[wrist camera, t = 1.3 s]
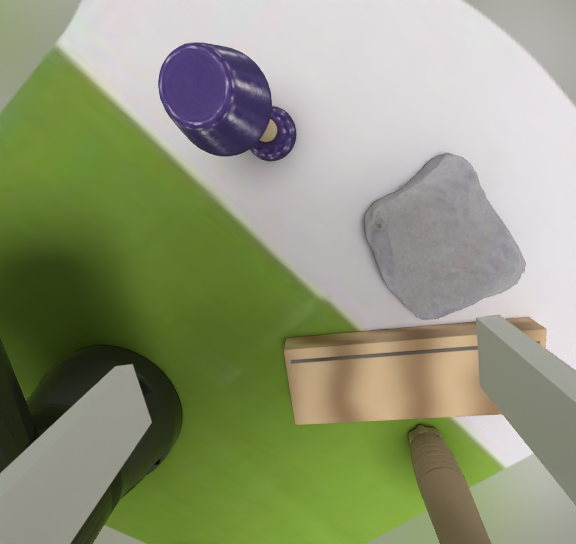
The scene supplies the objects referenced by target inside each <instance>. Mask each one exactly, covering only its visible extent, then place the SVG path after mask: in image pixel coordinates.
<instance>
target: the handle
mask: <svg viewBox="0 0 576 544" xmlns="http://www.w3.org/2000/svg"><path fill="white" fill-rule="evenodd" d="M408 438H409V442H410V447H411V458H412V464H413V468H414V472H415V476H416V480H417V483H418V486H419V489H420V492H421V495H422V498H423V500H424V503H425V505H426V508H427V511H428V513H429V516H430V518H431V521H432V524H433V526H434V529H435V531H436V534H437V537H438V539H439V542H440V544H491V542H490V539H489V537H488V535H487V533H486V530H485V527H484V525H483V522H482V520H481V518H480V515H479V512H478V510H477V507H476V505H475V502H474V500H473V497H472V495H471V492H470V490H469V487H468V485H467V482H466V480H465V478H464V476H463V474H462V472H461V470H460V468H459V466H458V464H457V462H456V460H455V458H454V456H453V455H452V453H451V451H450V450H449V448H448V447H447V445H446V444H445V442H444V441H443V440H442V436H441V435H440V433H439V432H438V431H437V429H435V428H433V427H431V428H430V427H425V426H423V425H418V426H417V428H416V429H414V430H413V431H410V432H409V434H408Z"/></svg>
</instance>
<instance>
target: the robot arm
mask: <svg viewBox="0 0 576 544" xmlns="http://www.w3.org/2000/svg"><path fill="white" fill-rule="evenodd" d="M476 324H477V343H478V363H479V382H480V387H481V388H482V389H483V391H484V392H485V393H486V394H487V396H488V397H489V398H490V399H491V400H492V402H493V403H494V404H495V405H496V407H497V408H498V409H499V410H500V412H501V413H502V414H503V415H504V417H505V418H506V419H507V420H508V422H509V423H510V424H511V425H512V427H513V428H514V429H515V430H516V432H517V433H518V434H519V435H520V437H521V438H522V439H523V440H524V441H525V443H526V444H527V445H528V446H529V448H530V449H531V450H532V451H533V453H534V454H535V455H536V456H537V458H539V460H540V461H541V463H542V464H543V465H544V466H545V468H546V469H547V470H548V471H549V473H550V474H551V475H552V476H553V478H554V479H555V480H556V481H557V482H558V484H559V485H560V486H561V487H562V489H563V490H564V491H565V492H566V494H567V495H568V496H569V497H570V499H571V500H572V501H573V502H574V504H575V505H576V370H574V369H573V368H571V367H570V366H569V365H567V364H566V363H565V362H563V361H562V360H560V359H559V358H558V357H556V356H555V355H554V354H552V353H551V352H549V351H548V350H547V349H545V348H544V347H543V346H541V345H540V344H538V343H537V342H536V341H534V340H533V339H532V338H530V337H529V336H527V335H526V334H525V333H523V332H522V331H521V330H519V329H518V328H516V327H515V326H514V325H512V324H511V323H510V322H508V321H507V320H505V319H504V318H503V317H501V316H500V315H494V316H486V317H479V318H476ZM181 423H182V411H181V405H180V402H179V398H178V396H177V394H176V391H175V389H174V388H173V386H172V384H171V383H170V381H169V380H168V379H167V377H166V376H165V375H164V374H163V373H162V372H161V371H160V370H159V369H158V368H157V367H156V366H155V365H154V364H152V363H151V362H150V361H148V360H147V359H145V358H144V357H142V356H140V355H138V354H136V353H134V352H132V351H129V350H126V349H123V348H119V347H114V346H102V345H101V346H91V347H86V348H83V349H80V350H77V351H75V352H73V353H72V354H70V355H69V356H67V357H66V358H64V359H63V360H61V361H60V362H59V363H57V364H56V365H54V366H53V367H52V368H51V369H50V370H49V371H48V372H47V373H46V374H45V375H44V377H43V378H42V380H41V381H40V383H39V385H38V387H37V388H36V389H35V391H34V392H33V393H32V395H31V396H30V397H29V399H28V400H27V401H26V400H25V398H24V396H23V393H22V391H21V388H20V386H19V383H18V381H17V378H16V376H15V373H14V371H13V368H12V366H11V363H10V361H9V359H8V356H7V354H6V351H5V349H4V346H3V344H2V341H1V339H0V544H93V542H94V540H95V539H96V537H97V535H98V534H99V532H100V530H101V529H102V527H103V526H104V524H105V522H106V521H107V519H108V517H109V516H110V514H111V513H112V511H113V509H114V508H115V506H116V505H117V503H118V502H119V500H120V499H121V498H122V497H123V496H125V495H126V494H127V493H128V492H129V491H130V490H131V489H133V488H134V487H135V486H136V485H137V484H138V483H139V482H140V481H141V480H142V479H143V478H144V477H145V476H146V475H147V474H149V473H150V472H152V471H153V470H154V469H156V468H157V467H158V466H159V465H160V464H161V463H162V462H163V460H164V459H165V458H166V457H167V455H168V454H169V452H170V450H171V448H172V447H173V445H174V443H175V441H176V439H177V437H178V435H179V432H180V429H181Z"/></svg>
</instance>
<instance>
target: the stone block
mask: <svg viewBox="0 0 576 544" xmlns="http://www.w3.org/2000/svg"><path fill="white" fill-rule="evenodd" d="M364 221H365V233H366V238H367V240H368V242H369V244H370V245H371V248H372V250H373V253H374V255H375V259H376V263H377V265H378V267H379V269H380V272H381V274H382V277H383V278H384V281H385V283H386V285H387V287H388V289H389V290H390V291H391V292H392V293H393V294H394V295H395V296H397V297H398V298H399V299H400V300H401V302H402V303H403V304H404V305H406V306H407V307H409V308H410V310H411V311H412V312H413V313H414V314H415V316H416V317H418V318H420V319H423V320H428V319H438V318H440V317H444V316H445V315H448V314H449V313H453V312H455V311H458V310H461V309H463V308H466V307H468V306H470V305H473V304H475V303H476V302H478V301H479V300H481V299H483V298H486V297H489V296H493V295H496V294H499V293H502V292H504V291H506V290H508V289H510V288H511V287H512V286H514V285H515V284H517V283H518V281H519V279H520V277H521V273H523V272H524V271H525V265H526V263H525V260H524V258H523V256H522V253H521V251H520V249H519V247H518V245H517V244H516V242H515V241H514V239H513V237H512V236H511V234H510V232H509V230H508V229H507V227H506V226H505V224H504V223H503V221H502V220H501V219H500V217H499V216H498V215H497V213H496V212H495V210H494V209H493V208H492V206H491V204H490V203H489V201H488V200H487V198H486V195H485V193H484V191H483V189H482V188H481V186H480V184H479V180H478V177H477V174H476V172H475V171H474V169H473V167H472V165H471V164H470V163H469V162H468V161H467V160H466V159H464V158H463V157H460V156H456V155H453V154H450V153H444V154H442V155H440V156H438V157H436V158H433V159H431V160H430V161H429V162H428V163H427V164H426V165H425V166H424V167H423V168H422V169H421V170H420V171H419V172H418V173H417V174H416V175H415V176H414V177H413V178H412V179H411V180H410V181H409V182H408V183H407V185H406V186H404V187H403V188H401V189H400V190H398V191H396V192H394V193H391V194H388V195H386V196H385V197H383V198H382V199H380V200H377V201H376V202H374V203H373V204H372V205H371V207H370V209H369V210H368V211H367V212H366V214H365V219H364Z"/></svg>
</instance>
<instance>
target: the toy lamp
mask: <svg viewBox="0 0 576 544" xmlns="http://www.w3.org/2000/svg"><path fill="white" fill-rule="evenodd" d="M158 86H159V94H160V99H161V101H162V103H163V106H164V108H165V110H166V112H167V114H168V115H169V117H170V118H171V119H172V120H173V121H174V123H175V124H176V125H177V126H178V128H179V129H180V130H181V131H182V132H183V133H184V134H185V135H186V136H187V138H188V139H189V140H190V141H191V142H192V143H193V144H195V145H196V146H197V147H198V148H200V149H202V150H204V151H206V152H208V153H210V154H213V155H217V156H233V155H238V154H241V153H243V152H245V151H247V150H249V149H250V150H251V151H252V152H253V153H254V154H255V155H256V156H257V157H259V158H261V159H263V160H266V161H275V160H279V159H282V158H283V157H285V156H286V155H287V154H288V153H289V152H290V151H291V150H292V148H293V146H294V144H295V140H296V129H295V124H294V122H293V120H292V118H291V117H290V115H289V114H288V113H287V112H285V111H284V110H283V109H281V108H278V107H274V106H272V100H271V92H270V88H269V85H268V82H267V80H266V78H265V76H264V74H263V72H262V71H261V70H260V68H259V67H258V66H257V64H256V63H255V62H254V61H253V60H251V59H250V58H249V57H248V56H246V55H245V54H243V53H241V52H240V51H237V50H235V49H232V48H228V47H224V46H219V45H213V44H207V43H187V44H184V45H182V46H180V47H178V48H176V49H175V50H174V51H172V52H171V53H170V54H169V55H168V57H167V58H166V59H165V61H164V62H163V64H162V67H161V70H160V74H159V81H158Z"/></svg>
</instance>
